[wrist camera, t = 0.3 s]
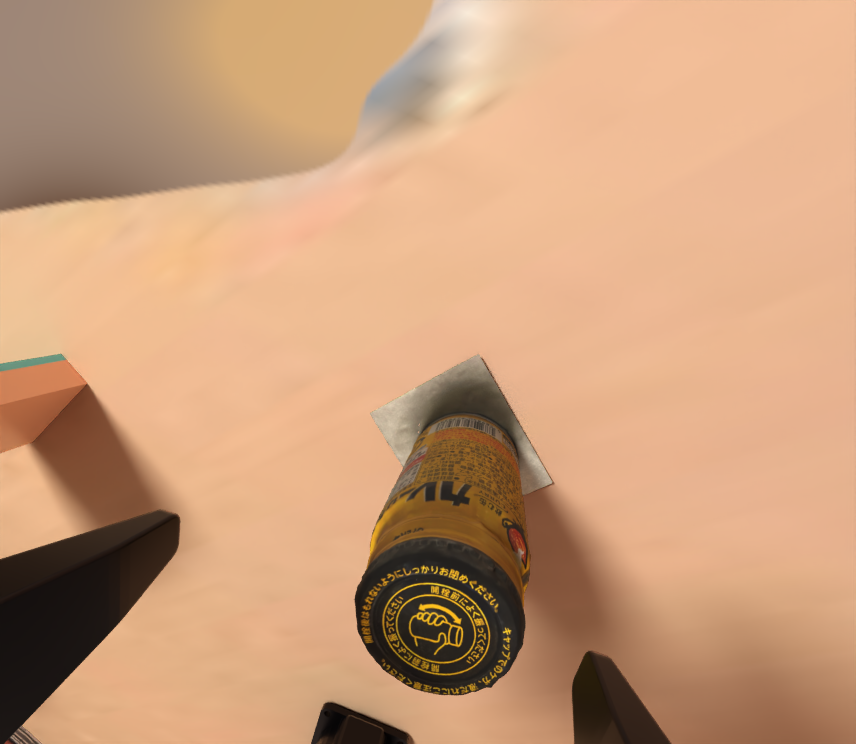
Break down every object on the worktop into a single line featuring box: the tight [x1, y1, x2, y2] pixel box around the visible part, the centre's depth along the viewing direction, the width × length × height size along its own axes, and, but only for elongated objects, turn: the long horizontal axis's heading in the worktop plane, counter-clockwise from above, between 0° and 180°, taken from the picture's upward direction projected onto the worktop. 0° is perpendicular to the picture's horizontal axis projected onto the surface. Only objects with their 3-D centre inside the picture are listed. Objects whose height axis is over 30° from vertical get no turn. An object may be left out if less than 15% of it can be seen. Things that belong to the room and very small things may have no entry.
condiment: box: [355, 354, 553, 695], centre depth 18 cm, size 7×8×12 cm
